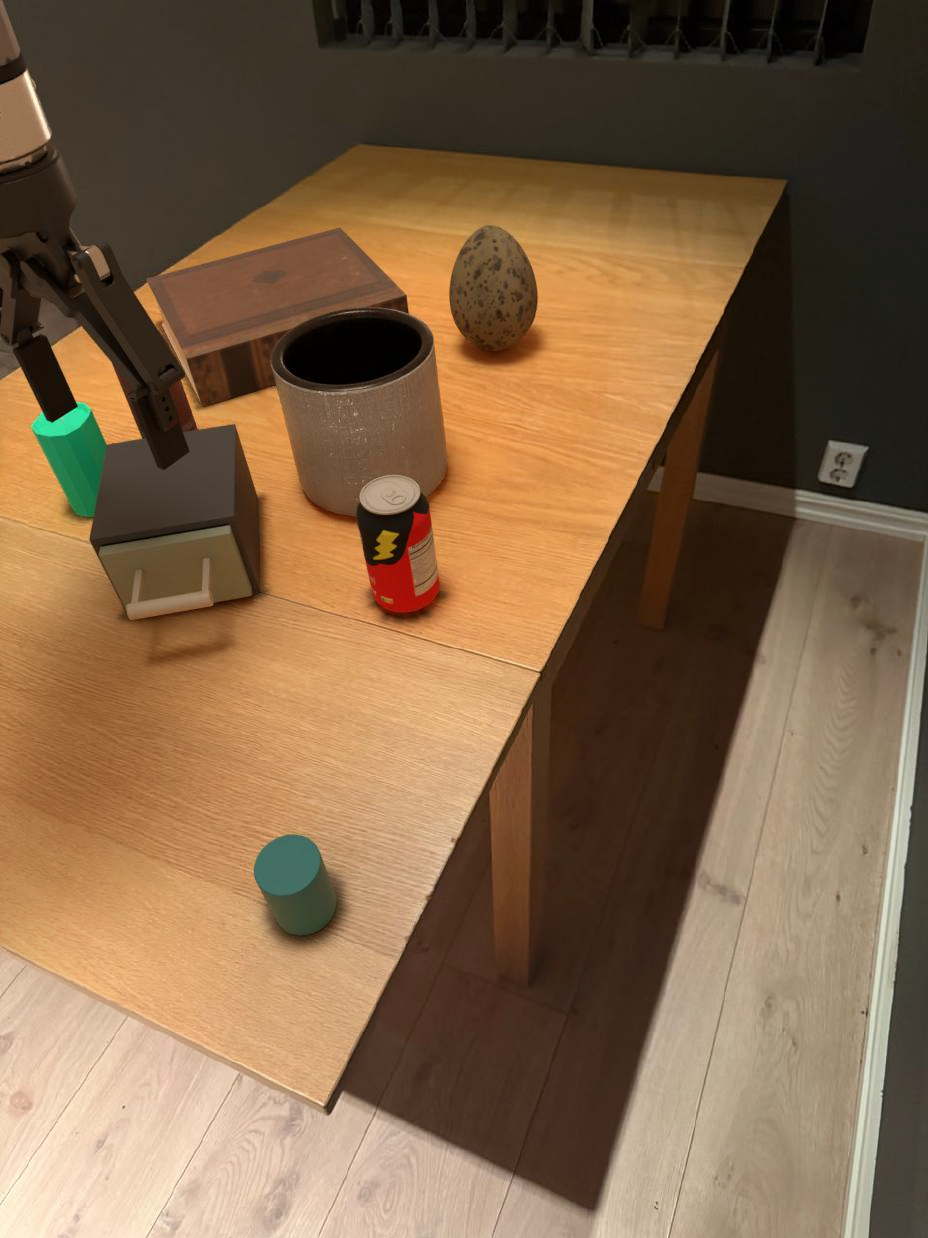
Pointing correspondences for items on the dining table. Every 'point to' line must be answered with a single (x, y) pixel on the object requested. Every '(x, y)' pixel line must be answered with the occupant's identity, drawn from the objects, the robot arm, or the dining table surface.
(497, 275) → the decorative egg
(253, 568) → the cabinet
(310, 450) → the planter
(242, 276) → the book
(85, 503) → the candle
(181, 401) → the can
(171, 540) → the drawer
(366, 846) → the dining table surface
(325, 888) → the teal cylinder
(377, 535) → the beverage can
